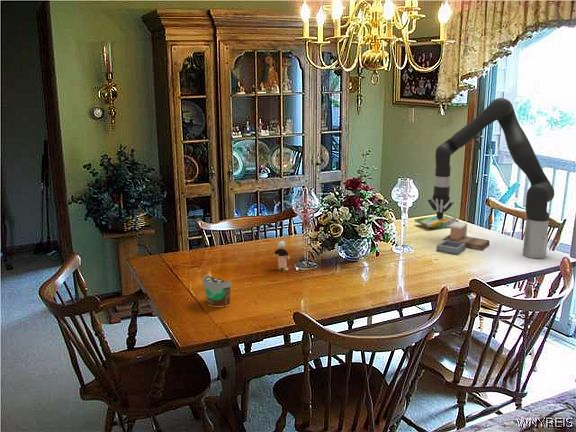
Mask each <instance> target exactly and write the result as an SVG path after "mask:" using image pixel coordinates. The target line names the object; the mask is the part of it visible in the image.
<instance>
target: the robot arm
mask: <svg viewBox="0 0 576 432" xmlns="http://www.w3.org/2000/svg"><path fill="white" fill-rule="evenodd" d="M514 109H515V108H514V106H513V104H512V102H511V101H510V100H508V99H506V98H504V97H498V98H494V99H493V100H492V101H491V102H490V103H489V105H488V106H486V108H484V110H482V111H481V113H479V114H478V115H477V116H476V117H475V118H474V119H472V120H471V121H470V122H469V123H468V124H466V125H465V126H463V127H462V128H461V129H459V130H458V131H457V132H455V134H453V135H452V136H451V137H450V138H448V139H447V140H446V141H444V142H443V143H441V144H440V145H438V147H436V150H435V155H434V156H435V172H434V173H435V174H434V180H433V195H432V196H431V198H430V199H428V200H427V202H428V203H429V206H430V207H431V209H433V211H436V216H437V218H438V219H439V220H441V219H442V218H443V215H444V213H445V212H448V211H449V210H450V208H452V206H453V205H454V204H455V203H454V201H452V200H451V198H450V189H451V188H450V187H451V165H450V162H451V156H452V155H453V154H454V153H455V152H457V151H458V150H459V149H461V148H462V147H464V146H467V144H469V143H470V142H471V141H472V140H473V139H476V137H477V136H478V135H479V134H480V133H481V132H482V131H483V130H484V129H485V128H487V127H488V126H489V125H490V124H492V123H494V122H495V121H497V122H498V123H499V126H500V127H501V129H502V131H503V134H504V138H505V142H506V146H507V149H508V151H509V153H510V156H511V159H512V160H513V163H515V165H516V166H517V167H518V168H519V169H520V170H521V171H522V172H523V173H524V175H525V176H526V178H527V179H528V181H529V184H530V187H529V188H528V190H527V192H526V198H525V213H526V219H525V227H524V235H523V236H524V237H523V246H522V247H523V248H522V255H523V256H524V257H526V258H532V259H544V258H545V257H546V256H547V249H548V242H549V241H548V240H549V235H548V230H549V221H550V213H549V212H548V203H549V202H551V201H552V200H553V199H554V197H555V189H554V187H553V185H552V183H551V182H550V180H549V179H548V177H547V175H546V173H545V172H544V170H543V169H542V166H541V164H540V162H539V159H538V157H537V155H536V153H535V151H534V149H533V147H532V144H531V142H530V140H529V139H528V136H527V135H526V133H525V131H524V130H523V129H522V127H521V125H520V123H519V120H518V118H517V115H516V113H515V112H516V111H515V110H514ZM446 205H447V206H446Z"/></svg>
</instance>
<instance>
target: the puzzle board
mask: <svg viewBox="0 0 576 432" xmlns="http://www.w3.org/2000/svg"><path fill="white" fill-rule="evenodd" d="M444 240H449V241H454V242H460V243H465V244H466V245H465V249H469V250H470V249H472V250H477V251H481V252H482V251H484V250H485V249H487V248H488V247H489V246H490V241H491V240H488V239H483V238H478V237H471V236H467V235H466V237H463V238H462V239H461V240H456V239H450V234H448V235H447V236H446V237H445V236H444V238H443V241H444ZM443 241H442V242H443Z"/></svg>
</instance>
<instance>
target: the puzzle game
mask: <svg viewBox="0 0 576 432" xmlns="http://www.w3.org/2000/svg"><path fill="white" fill-rule="evenodd" d="M451 218H452V217H450V216H448V215H444V214H443V218H442V219H441V220H439V219H438V218H437V215H434V216H427V217H422V218H421V217H420V218H414V222H415V223H417V224H419V225H421V226H422V227H425V228H427V229H430V230H438V229H439V230H440V229H446V228H447V229H448V227H447V221H448V220H450V219H451ZM456 222H460V220H459V219H456Z"/></svg>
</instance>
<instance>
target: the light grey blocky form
mask: <svg viewBox="0 0 576 432" xmlns="http://www.w3.org/2000/svg"><path fill="white" fill-rule="evenodd" d="M450 218H451V219H450V220H448V221H447V228H451V227H452V228H458V229H462V228H463V237H466V236H467V235H468V223H467V222H461V221H459V222H456V220H457V217H455V216H453V217H450Z"/></svg>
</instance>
